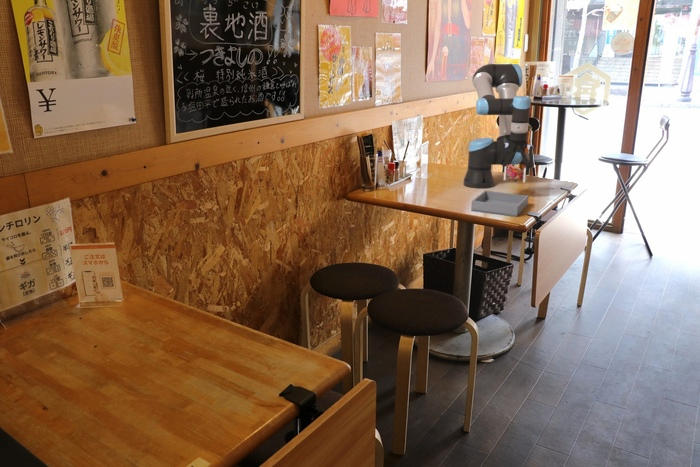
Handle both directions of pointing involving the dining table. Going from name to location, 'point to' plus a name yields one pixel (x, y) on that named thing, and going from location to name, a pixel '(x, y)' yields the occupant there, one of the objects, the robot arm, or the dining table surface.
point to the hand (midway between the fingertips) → (514, 180)
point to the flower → (514, 173)
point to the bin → (500, 203)
